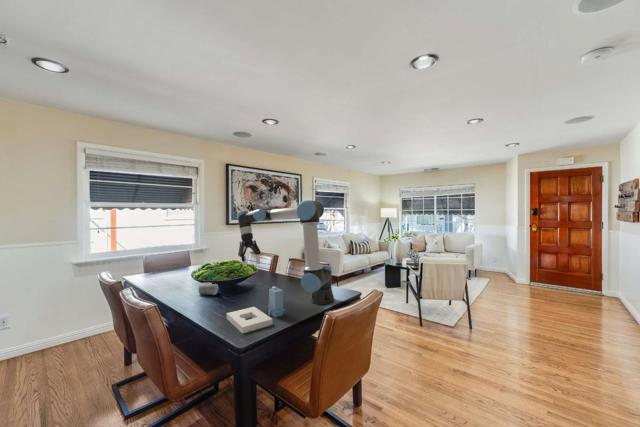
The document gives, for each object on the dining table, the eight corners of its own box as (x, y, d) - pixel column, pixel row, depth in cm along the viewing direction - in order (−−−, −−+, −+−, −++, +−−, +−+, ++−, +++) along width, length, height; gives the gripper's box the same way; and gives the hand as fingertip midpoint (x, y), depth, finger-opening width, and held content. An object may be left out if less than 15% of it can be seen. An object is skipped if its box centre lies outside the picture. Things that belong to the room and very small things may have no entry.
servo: (284, 316, 149) (284, 289, 149) (275, 319, 145) (275, 291, 145) (275, 310, 158) (275, 284, 157) (265, 312, 154) (265, 286, 154)
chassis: (272, 324, 138) (272, 318, 138) (242, 333, 128) (242, 327, 128) (254, 311, 156) (254, 306, 155) (226, 318, 146) (226, 313, 146)
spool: (193, 291, 183) (200, 277, 187) (201, 293, 192) (208, 280, 195) (208, 298, 179) (215, 284, 182) (216, 300, 187) (223, 286, 191)
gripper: (253, 235, 193) (259, 264, 189) (228, 235, 170) (234, 268, 167) (262, 232, 190) (267, 262, 186) (238, 232, 167) (243, 266, 164)
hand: (252, 265), depth 177 cm, fingers open, 13 cm apart
